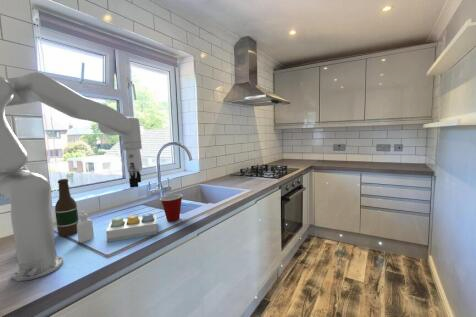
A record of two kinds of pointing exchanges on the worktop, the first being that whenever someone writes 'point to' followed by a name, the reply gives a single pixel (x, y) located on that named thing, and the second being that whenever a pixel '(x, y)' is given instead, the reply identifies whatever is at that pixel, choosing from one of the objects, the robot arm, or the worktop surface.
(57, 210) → the beer bottle
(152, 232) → the white slotted frame
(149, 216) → the button slate
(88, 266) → the worktop surface
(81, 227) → the eye dropper bottle
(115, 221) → the button sage
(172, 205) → the plastic cup
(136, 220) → the button amber
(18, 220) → the robot arm
